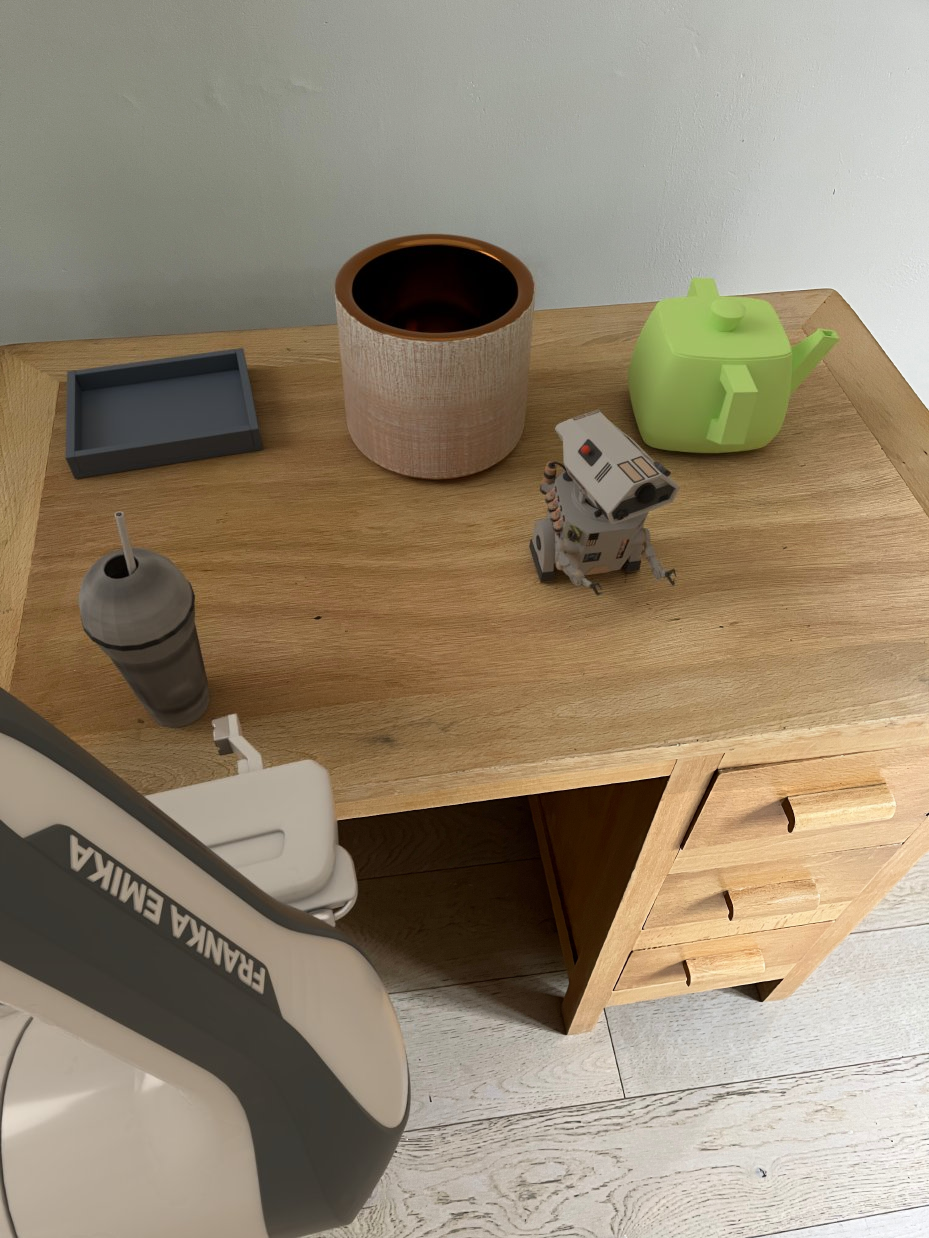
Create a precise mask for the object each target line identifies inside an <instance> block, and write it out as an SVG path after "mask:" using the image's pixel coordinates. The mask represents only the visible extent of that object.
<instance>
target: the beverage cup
mask: <svg viewBox="0 0 929 1238" xmlns="http://www.w3.org/2000/svg"><path fill="white" fill-rule="evenodd" d="M114 518H115V522H116V526H117V531H118V534H119V538H120V542H121V547H122V548H121V549H117V550H113V551H111V552H109V553H107V554H105V555H103V556H101V557H100V558H99V559H97V560H96V561H95V562H93V564H91V566H90V567H89V568H88V570H87V572H86V573H85V575H84V576H83V578H82V580H81V583H80V588H79V593H78V598H77V599H78V600H77V603H78V609H79V615H80V621H81V625H82V628H83V632H84V633H85V634H86V635H87V636H88V638H89V639H90V640H91V641H92V643H95V644H96V645H97V646H98V648H99V649H100V650H101V651H102V652H103V653H104V654H105V655H106V656H108V658H109V659H110V661H111V662H112V663H113V665H114V666H115V668H116V669H117V671H118V672H119V673H120V675H121V676H122V678H123V679H124V681H125V682H126V683H127V684H128V686H129V688H130V690H131V691H132V692H133V694H134V695H135V697H136V698H137V700H138V701H139V702H140V704H141V705H142V707H143V708H144V710H145V711H147V713H148V714H150V717H151V718H152V719H153V720H154V722H156V723H157V724H158V725H161V726H162V727H167V728H172V729H173V728H182V727H185V726H188V725H192V724H193V723H195V722H196V721H198V720H199V719H200V718H201V717H202V716H203V715H204V714H205V712H207V709H208V707H209V705H210V699H211V697H210V692H209V682H208V677H207V671H206V667H205V663H204V658H203V654H202V650H201V649H202V648H201V644H200V640H199V635H198V634H199V633H198V630H197V626H196V604H195V601H196V594H195V592H194V588H193V586H192V583H191V582H190V581H189V580H188V579H187V577H186V575H185V574H184V573H183V571H182V570H181V569H180V568H179V567H178V566H177V565H176V564H175V563H174V561H172V560H171V559H169V557H167V556H164V555H163V554H160V553H158V552H157V551H155V550H152V549H147V548H141V547H132V545H131V539H130V536H129V531H128V527H127V522H126V519H125V514H124V512H123V511H121V510H120V511H116V512H115V513H114Z"/></svg>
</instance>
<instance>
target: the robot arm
mask: <svg viewBox="0 0 929 1238" xmlns="http://www.w3.org/2000/svg"><path fill="white" fill-rule="evenodd" d="M211 726H212V728H213V730H212V737H213V742H214V745H215V747H216V749H217V753H218V754H219V757H221V756H228V755H232V754H233V755H234V756H235V757H236V758H237V759H238V760H237V762H236V765H237V773H238V774H236V775H231V776H226V777H223V778H218V779H212V780H208V781H205V782H199V783H194V784H190V785H186V786H181V787H177V788H172V789H168V790H163V791H159V792H154V793H149V794H146V795H143V794H142V793H141V792H139V791H138V790H137V789H136V788H134V787H133V786H132V785H130V783H128V782H127V781H126V780H124V778H122V777H120V776H119V775H118V774H117V773H115V772H114V770H111V768H109V767H108V766H107V765H105V764H104V763H103V762H102V761H100V760H99V759H98V758H96V756H94V755H93V754H91V753H90V752H89V751H88V750H87V749H85V748H84V747H82V746H81V745H80V744H78V743H77V742H76V741H74V740H73V739H72V738H71V737H69V736H68V735H67V734H65V733H64V732H63V731H62V730H60V728H58V727H57V726H55V725H54V724H52V723H51V722H50V721H49V720H47V719H46V718H44V717H43V716H42V715H41V714H40V713H38V712H37V711H35V710H34V709H32V708H31V707H29V706H28V705H27V704H25V703H24V702H23V701H22V700H20V699H19V698H18V697H16V696H14V695H13V694H11V693H10V692H9V691H7V690H6V689H4V688H3V687H1V686H0V1238H302V1237H306V1236H310V1235H314V1234H318V1233H322V1232H326V1231H330V1230H333V1229H337V1228H342V1227H346V1226H349V1225H351V1224H352V1223H353V1222H354V1221H355V1219H356V1218H357V1217H358V1215H359V1213H360V1212H361V1211H362V1209H363V1208H364V1206H365V1204H366V1203H367V1202H368V1200H369V1199H370V1197H371V1195H372V1194H373V1192H374V1190H375V1188H376V1187H377V1186H378V1184H379V1183H380V1180H381V1179H382V1177H383V1175H384V1174H385V1172H386V1170H387V1168H388V1166H389V1164H390V1162H391V1160H392V1158H393V1156H394V1154H395V1152H396V1150H397V1148H398V1146H399V1143H400V1142H401V1139H402V1138H403V1135H404V1133H405V1129H406V1127H407V1124H408V1121H409V1117H410V1112H411V1105H412V1104H411V1103H412V1102H411V1101H412V1100H411V1099H412V1088H411V1075H410V1067H409V1061H408V1054H407V1051H406V1046H405V1041H404V1037H403V1033H402V1029H401V1025H400V1022H399V1018H398V1015H397V1012H396V1009H395V1007H394V1006H395V1005H394V1003H393V1001H392V999H391V997H390V994H389V992H388V990H387V988H386V986H385V984H384V982H383V980H382V978H381V976H380V973H379V972H378V970H377V969H376V967H375V965H374V964H373V962H372V961H371V959H370V958H369V956H368V954H366V952H365V951H364V949H362V947H361V946H359V944H358V943H356V942H355V941H354V940H353V939H352V938H350V937H349V936H348V935H346V934H345V933H344V932H342V931H341V930H340V929H338V928H336V921H338V920H339V919H341V918H343V917H344V916H346V915H347V914H348V913H349V912H350V911H351V909H352V908H353V907H354V905H355V903H356V901H357V899H358V895H359V881H358V878H357V873H356V872H357V871H356V868H355V862H354V859H353V857H352V855H351V853H350V852H349V851H348V850H347V849H346V848H344V847H343V846H342V845H340V844H339V828H338V826H339V825H338V819H337V817H338V816H337V810H336V809H337V808H336V803H335V795H334V790H333V785H332V779H331V775H330V773H329V770H328V769H326V768H325V767H324V766H323V765H322V764H320V763H319V762H317V761H315V760H314V759H311V758H308V759H302V760H297V761H293V762H289V763H284V764H280V765H279V764H278V765H275V766H271V767H267V768H266V765H265V763H264V759H263V756H262V754H261V753H260V752H259V751H258V750H257V749H256V748H255V747H254V746H253V745H252V744H251V743H250V742H249V741H248V740H247V739H246V738H245V737H244V736H243V730H242V725H241V722H240V718H239V716H238V713H237V712H236V713H231V714H226V715H222V716H217V717H213V718H211ZM340 907H341V908H340ZM336 908H339V909H337V910H336V911H334V909H336Z"/></svg>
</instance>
